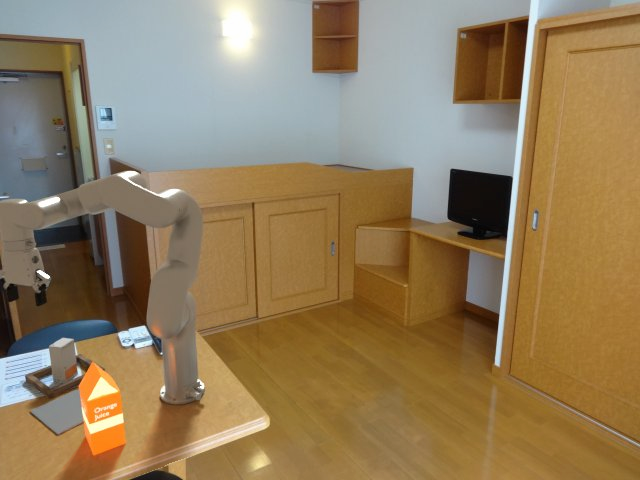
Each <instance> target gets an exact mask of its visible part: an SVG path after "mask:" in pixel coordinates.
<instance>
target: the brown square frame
mask: <svg viewBox="0 0 640 480" xmlns="http://www.w3.org/2000/svg"><path fill="white" fill-rule="evenodd" d="M76 362H77V364H81V365H82V366H84V367H85V368H87V369H89V367H90V365H91V364H92V362H94V363H95V364H96V365H97V366H98V367H100V368H101V369H102V370H103V371H105V372H106V368H105V367H103V366H102V365H100V364H98V363H96V362H95V361H93V360H92V359H90V358H88V357H86V356H85V355H83V354H82V353H80V354H79V353H78V354H76ZM85 374H86V373H83V374H82V375H79V376H76V377H75V378H71V379H69V380H68V381H67V382H65V383H60V384H57V385H55V386H53V387H50V386H49V385H47V384H46V383H44V382H43V381H42V380H40V379H41V378H44V377H46V376H49V375H52V368H51V364H50V365H48V366H45V367H43V368H40V369H37V370H35V371H33V372H30V373H27V374H25V375H24V377H25V382H27V383H28V384H29V385H30V386H32V387H33V388H34V389H36V390H37V391H38V392H39V391H40V393H41V394H42V395H44V396H45V397H46V398H47V399H52V398H53V397H56V396H58V395H60V394H62V393H65V392H68V391H70V390H72V389H74V388H76V387H78V386H79V384H80V383H81V381H82V379H83V378H84V376H85Z"/></svg>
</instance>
